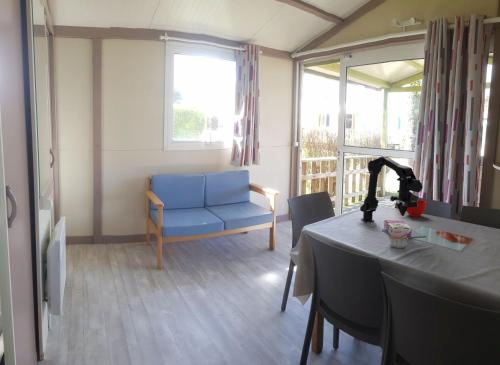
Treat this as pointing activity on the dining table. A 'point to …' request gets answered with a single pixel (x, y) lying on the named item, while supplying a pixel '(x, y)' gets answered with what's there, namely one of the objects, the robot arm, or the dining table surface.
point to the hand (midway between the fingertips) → (402, 215)
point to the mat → (413, 234)
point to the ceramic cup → (417, 209)
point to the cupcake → (398, 238)
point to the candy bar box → (397, 226)
